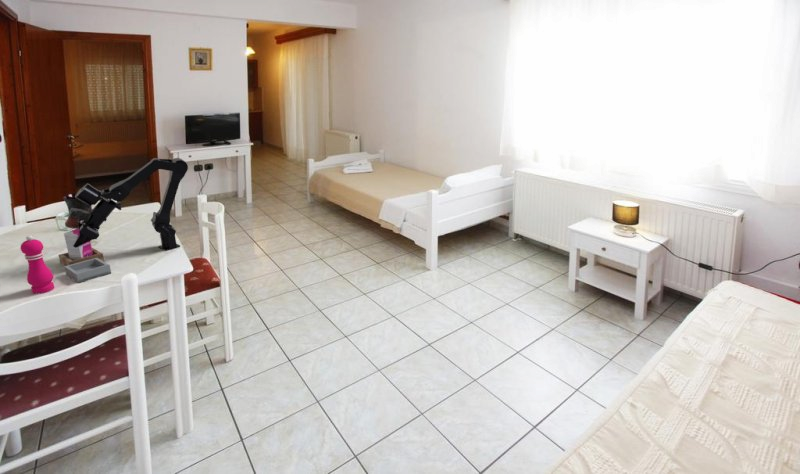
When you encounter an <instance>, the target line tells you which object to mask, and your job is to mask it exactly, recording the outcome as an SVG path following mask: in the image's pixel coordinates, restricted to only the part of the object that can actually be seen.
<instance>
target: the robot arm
mask: <svg viewBox="0 0 800 474" xmlns="http://www.w3.org/2000/svg"><path fill="white" fill-rule="evenodd" d="M188 169H189V165H188V162H186V161H185V160H183V159H182V158H180V157H174V158H172V159H171V158H158V157H154V158H151V159H150V161H149V162H148V163H146V164H145V165H143V166H142V167H140V168H139V169H138V170H136V171H135V172H134V173H133V174H131V175H130V176H128V177H127V178H125V179H122V180H121V181H118V182H115V183H114V184H112V185H110V187H108V188H105V189H101V190H100V189H97V188H96V187H94V186H92V185H91V184H90V183H86V184H84V185H83V186H82V187H81V188H79V190H78V191H77V192H76V194H75V196H74V198H75V199H77V200H79V201H81V202H82V203H84V204H86V205H88V206H94V207H93V208H90V209H89V210H84V209H81V208H75V207H71V208H70V211H69V214H68V218H69V219H72V220H77V226H78V228H77V229H79V233H80V235H79V237H78V238H77V240H76V242H75V243H74V245H73V247H75V248H76V247H79V246H81V245H83V244H85V243H87V242H89V241H90V242H91V241H94V240H98V238H99V236H100V233H99V229H100V227H101V226H102V225H103V223H104V222H106V221H108V219H107V218H108V217H109V216H110V215H111V214H112V213H113V211H114V210H115V209H117V210H119V211H122V203H121V202H122V201H124V200H125V199H127V197H128V196H129V195H130V194H131V193H132V191H133V190H134V189H135V187H137V186H138V185H139V184H140V183H142V182H144V181H145V180H147V178H149V177H151V175H153V174H154V173H155V172H157V171H158V170H164V171H169V178H168V181H167V185H166V188H165V191H164V195H163V197H162V200H161V204H160V207H159V209H158V211H157V212H156V211H153V213H152V217H151V219H150V221H151V226H152V228H153V229H154V231H155V232H156V233H158V234H159V237H160V242H161V244H160V245H158V248H160V249H162V250H163V251H169V250H173V249H176V248H179V247H181V245H180V244H178V243H177V240H176V239H177V238H176V232H177V230H176V229H175V227H174V226H173V225H172V224H171V211H172V209H173V205H174V202H175V198H176V196H177V193H178V189H179V186H180V183H181V182H182V179H184V177H185V176H186V174H187V172H188V171H189V170H188Z"/></svg>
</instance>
